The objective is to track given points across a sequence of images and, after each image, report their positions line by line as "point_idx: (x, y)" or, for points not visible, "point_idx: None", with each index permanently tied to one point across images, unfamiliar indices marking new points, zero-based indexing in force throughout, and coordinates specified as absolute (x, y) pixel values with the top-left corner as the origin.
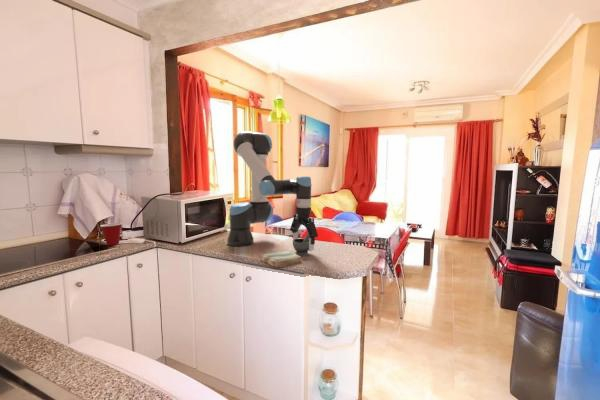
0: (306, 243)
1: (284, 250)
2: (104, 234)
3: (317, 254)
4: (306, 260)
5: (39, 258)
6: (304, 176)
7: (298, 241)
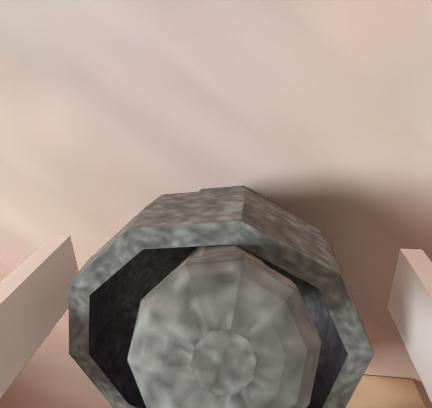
0: (356, 376)
1: None
2: None
3: (367, 128)
4: None
5: None
6: None
7: (105, 301)
